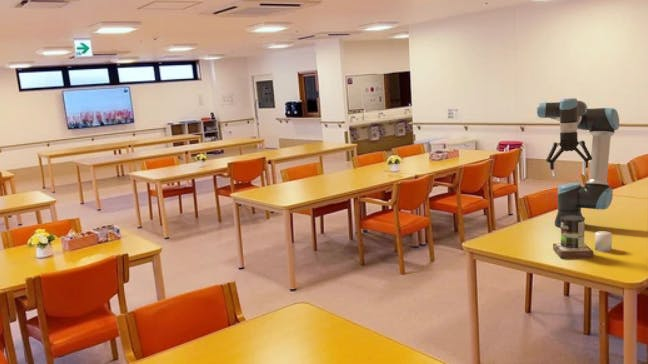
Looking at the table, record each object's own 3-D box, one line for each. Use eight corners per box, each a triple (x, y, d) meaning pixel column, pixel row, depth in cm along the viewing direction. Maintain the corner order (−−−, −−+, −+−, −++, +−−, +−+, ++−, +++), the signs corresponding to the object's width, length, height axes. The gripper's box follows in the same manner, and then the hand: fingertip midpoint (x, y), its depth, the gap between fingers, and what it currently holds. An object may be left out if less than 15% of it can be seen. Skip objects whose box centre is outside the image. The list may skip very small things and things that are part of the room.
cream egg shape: (593, 247, 263) (593, 231, 262) (608, 247, 262) (608, 230, 260) (597, 252, 256) (597, 235, 255) (613, 251, 255) (614, 234, 254)
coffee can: (567, 251, 251) (567, 221, 248) (556, 244, 261) (556, 216, 259) (589, 248, 251) (589, 218, 249) (577, 242, 261) (577, 214, 259)
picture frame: (553, 249, 265) (553, 243, 264) (583, 248, 262) (583, 242, 262) (560, 258, 251) (560, 251, 250) (593, 257, 249) (593, 250, 248)
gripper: (542, 133, 258) (543, 178, 262) (599, 130, 254) (599, 175, 257) (539, 132, 265) (539, 175, 269) (594, 129, 261) (594, 173, 265)
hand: (569, 175), depth 263 cm, fingers open, 13 cm apart
